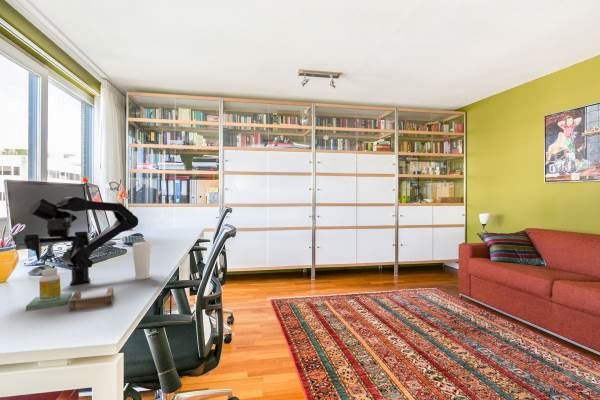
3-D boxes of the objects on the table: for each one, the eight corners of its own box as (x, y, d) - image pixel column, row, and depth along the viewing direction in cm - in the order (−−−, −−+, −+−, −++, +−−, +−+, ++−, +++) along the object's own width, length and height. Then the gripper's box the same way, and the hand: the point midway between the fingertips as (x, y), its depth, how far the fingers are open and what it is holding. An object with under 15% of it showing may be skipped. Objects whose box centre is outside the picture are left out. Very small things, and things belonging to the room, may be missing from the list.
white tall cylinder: (137, 276, 137) (136, 242, 137) (153, 276, 137) (152, 241, 137) (130, 280, 130) (129, 244, 130) (147, 280, 131) (146, 244, 130)
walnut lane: (75, 301, 106) (75, 292, 106) (113, 295, 111) (113, 287, 111) (69, 311, 97) (69, 301, 97) (111, 305, 102) (110, 295, 102)
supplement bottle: (49, 301, 102) (48, 271, 102) (35, 301, 103) (34, 271, 103) (64, 296, 107) (63, 267, 107) (51, 295, 108) (50, 267, 108)
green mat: (35, 300, 107) (35, 297, 107) (71, 295, 112) (71, 292, 112) (26, 310, 98) (26, 306, 98) (65, 304, 103) (65, 300, 103)
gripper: (24, 211, 112) (14, 247, 102) (87, 210, 121) (83, 242, 111) (31, 231, 119) (22, 266, 109) (90, 229, 128) (87, 261, 118)
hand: (54, 258), depth 112 cm, fingers open, 9 cm apart
